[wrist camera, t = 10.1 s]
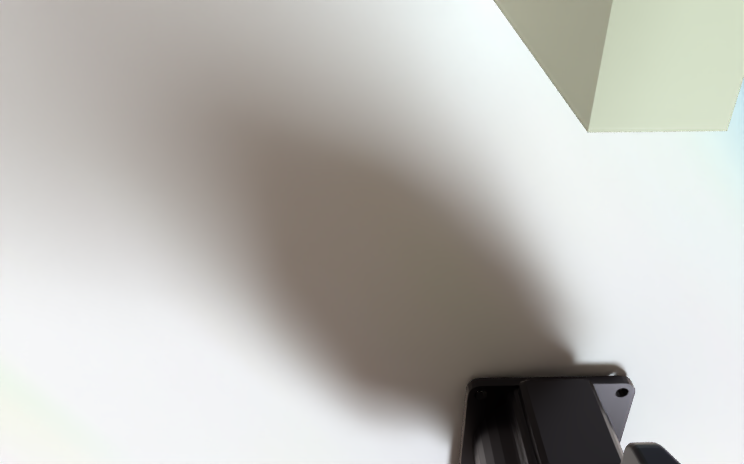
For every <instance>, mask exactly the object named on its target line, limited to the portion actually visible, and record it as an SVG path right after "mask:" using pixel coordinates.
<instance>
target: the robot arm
mask: <svg viewBox="0 0 744 464" xmlns="http://www.w3.org/2000/svg"><path fill="white" fill-rule="evenodd" d="M621 388H622V389H621ZM480 390H482V392H477V391H480ZM634 394H635V388H634V386H633V384H632V382H631V380H630V379H629V378H628V377H625V376H589V377H527V378H479V379H474V380H472V381H470V382H469V383H468V385H467V388H466V397H465V406H464V416H463V426H462V435H461V445H460V455H459V464H680V463H679V462H678V461H677V460H676V459H675V458H674V457H673V456H672V455H671V454H670V453H669V452H668V451H667V450H665V449H664V448H663V447H662V446H661V445H659V444H657V443H653V442H637V443H630V444H628V445H627V446H626V448H625V450H624V453H623V451H622V448H621V446H620V441H621V438H622V434H623V431H624V428H625V424H626V421H627V418H628V414H629V411H630V407H631V404H632V401H633V397H634Z"/></svg>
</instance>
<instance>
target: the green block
mask: <svg viewBox="0 0 744 464" xmlns="http://www.w3.org/2000/svg"><path fill="white" fill-rule="evenodd" d="M494 2H495V3H496V5H497V6H498V7H499V9H500V10H501V12H502V13H503V14H504V16H505V17H506V19H507V20H508V21H509V23H510V24H511V26H512V27H513V28H514V30H515V31H516V33H517V34H518V35H519V37H520V38H521V40H522V41H523V42H524V44H525V45H526V47H527V48H528V49H529V51H530V52H531V54H532V55H533V56H534V58H535V59H536V61H537V62H538V63H539V65H540V66H541V68H542V69H543V70H544V72H545V73H546V75H547V76H548V77H549V79H550V80H551V82H552V83H553V84H554V86H555V87H556V89H557V90H558V91H559V93H560V94H561V96H562V97H563V98H564V100H565V101H566V103H567V104H568V105H569V107H570V108H571V110H572V111H573V112H574V114H575V115H576V117H577V118H578V119H579V121H580V122H581V124H582V125H583V126H584V128H585V129H586V131H587V132H676V131H727V129H728V126H729V123H730V120H731V116H732V113H733V110H734V107H735V104H736V100H737V97H738V94H739V91H740V88H741V84H742V81H743V78H744V0H494Z"/></svg>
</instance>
